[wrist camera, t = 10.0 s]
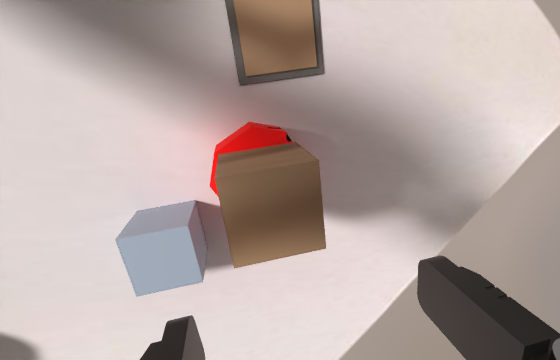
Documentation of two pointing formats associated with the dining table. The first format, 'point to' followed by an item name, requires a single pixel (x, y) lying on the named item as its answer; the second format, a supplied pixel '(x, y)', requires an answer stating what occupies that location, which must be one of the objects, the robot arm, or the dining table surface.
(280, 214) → the walnut cube
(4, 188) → the dining table surface
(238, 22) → the walnut swatch
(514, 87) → the dining table surface
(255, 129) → the ball
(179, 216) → the slate cube
